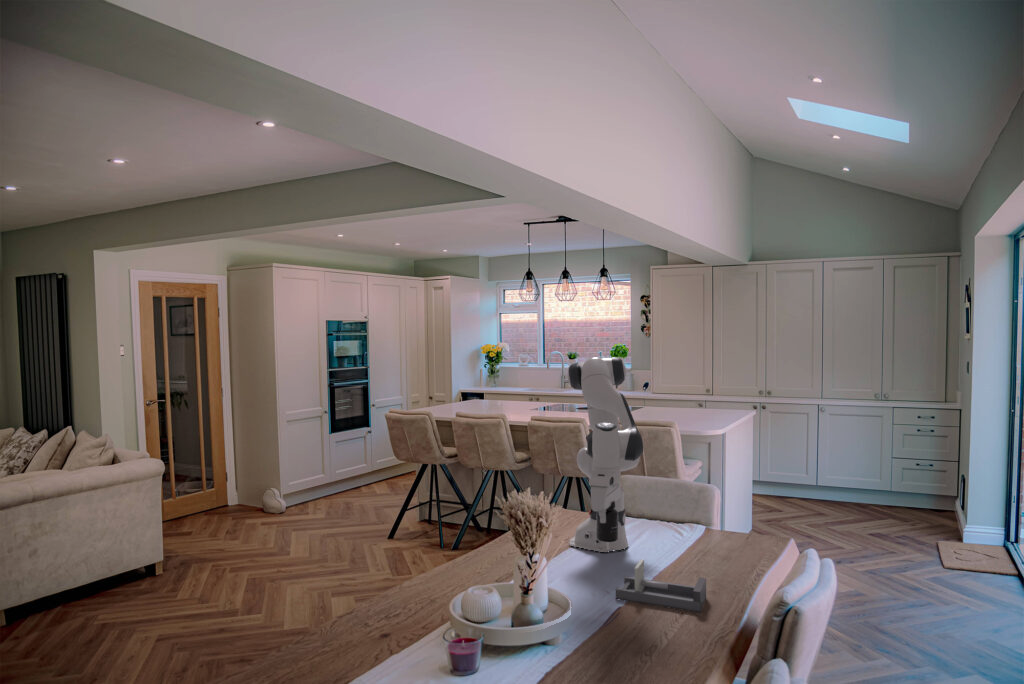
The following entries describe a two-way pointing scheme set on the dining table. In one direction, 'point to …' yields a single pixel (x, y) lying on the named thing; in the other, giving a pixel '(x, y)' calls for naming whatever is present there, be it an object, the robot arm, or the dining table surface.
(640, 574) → the pusher
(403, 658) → the dining table surface
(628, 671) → the dining table surface
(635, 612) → the dining table surface
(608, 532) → the supplement bottle
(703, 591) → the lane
